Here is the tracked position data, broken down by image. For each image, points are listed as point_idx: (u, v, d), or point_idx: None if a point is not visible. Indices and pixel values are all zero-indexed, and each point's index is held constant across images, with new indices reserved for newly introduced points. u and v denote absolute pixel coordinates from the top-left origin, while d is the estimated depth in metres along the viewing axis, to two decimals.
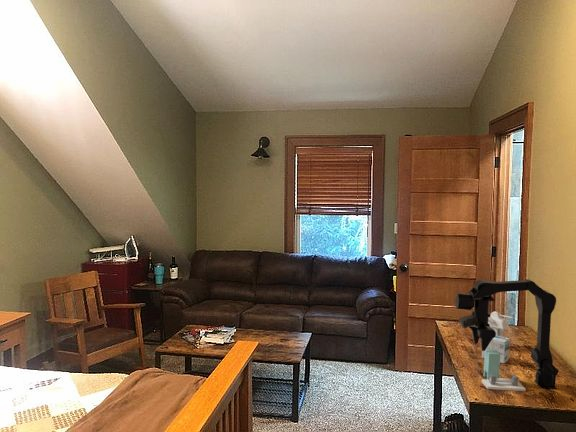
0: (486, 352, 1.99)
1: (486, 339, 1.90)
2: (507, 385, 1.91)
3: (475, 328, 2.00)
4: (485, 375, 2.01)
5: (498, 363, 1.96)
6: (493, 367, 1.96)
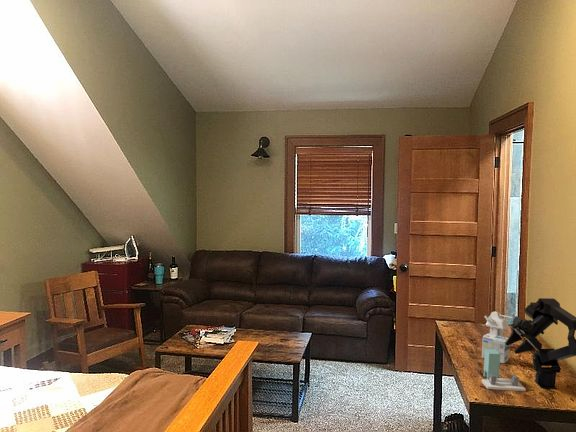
0: (486, 352, 1.99)
1: (526, 346, 1.92)
2: (507, 385, 1.91)
3: (516, 334, 2.02)
4: (485, 375, 2.01)
5: (498, 363, 1.96)
6: (493, 367, 1.96)
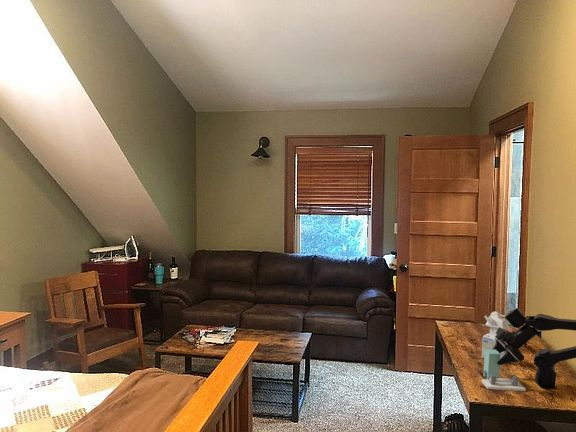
0: (486, 352, 1.99)
1: (509, 358, 1.92)
2: (507, 385, 1.91)
3: (500, 345, 2.03)
4: (485, 375, 2.01)
5: None
6: (493, 367, 1.96)
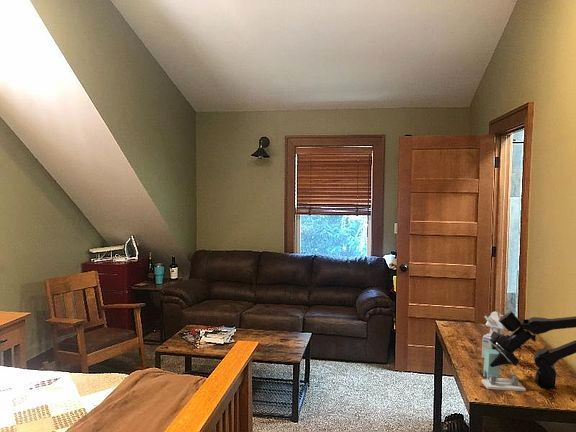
0: (486, 352, 1.99)
1: (502, 360, 1.94)
2: (507, 385, 1.91)
3: None
4: (485, 375, 2.01)
5: None
6: (493, 367, 1.96)
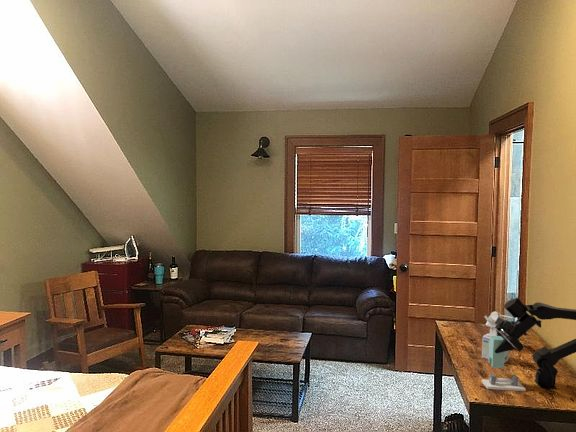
0: (491, 338, 1.97)
1: (506, 346, 1.92)
2: (507, 385, 1.91)
3: None
4: (490, 362, 1.99)
5: None
6: (498, 354, 1.94)
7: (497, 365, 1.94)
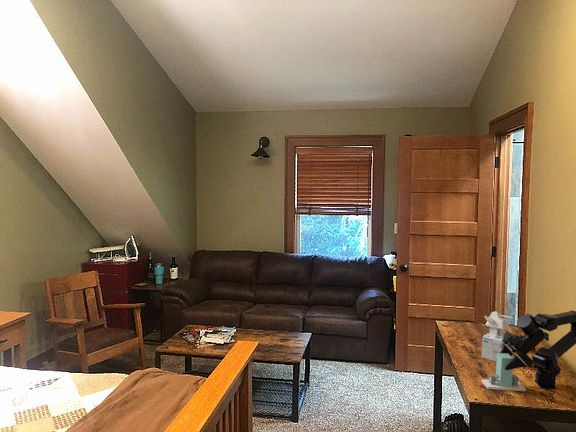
0: (498, 356, 1.92)
1: (517, 363, 1.85)
2: None
3: (507, 349, 1.96)
4: None
5: None
6: (506, 372, 1.89)
7: (505, 384, 1.89)
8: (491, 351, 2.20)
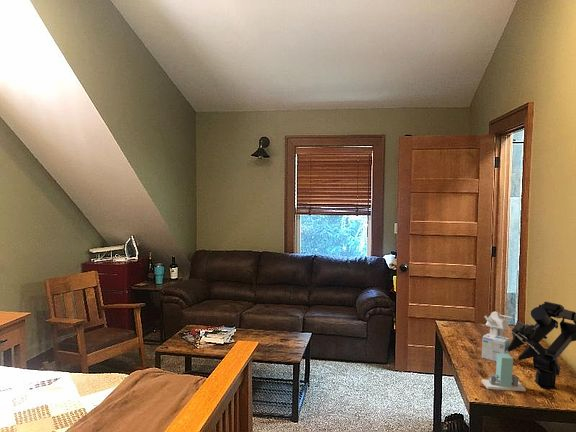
0: (498, 356, 1.92)
1: (530, 353, 1.86)
2: None
3: (518, 339, 1.96)
4: None
5: (511, 368, 1.89)
6: (506, 372, 1.89)
7: (505, 384, 1.89)
8: (491, 351, 2.20)
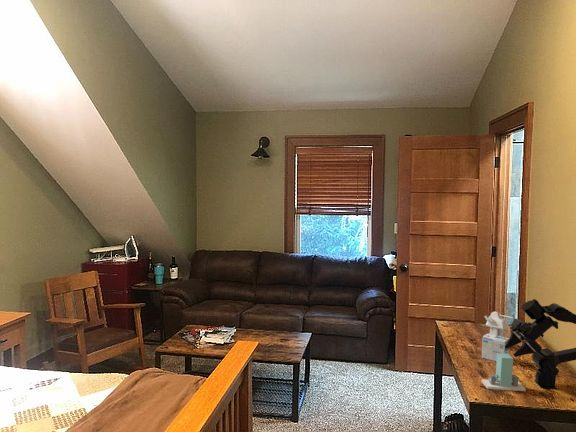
0: (498, 356, 1.92)
1: (526, 349, 1.88)
2: None
3: (515, 337, 1.99)
4: None
5: (511, 368, 1.89)
6: (506, 372, 1.89)
7: (505, 384, 1.89)
8: (491, 351, 2.20)
